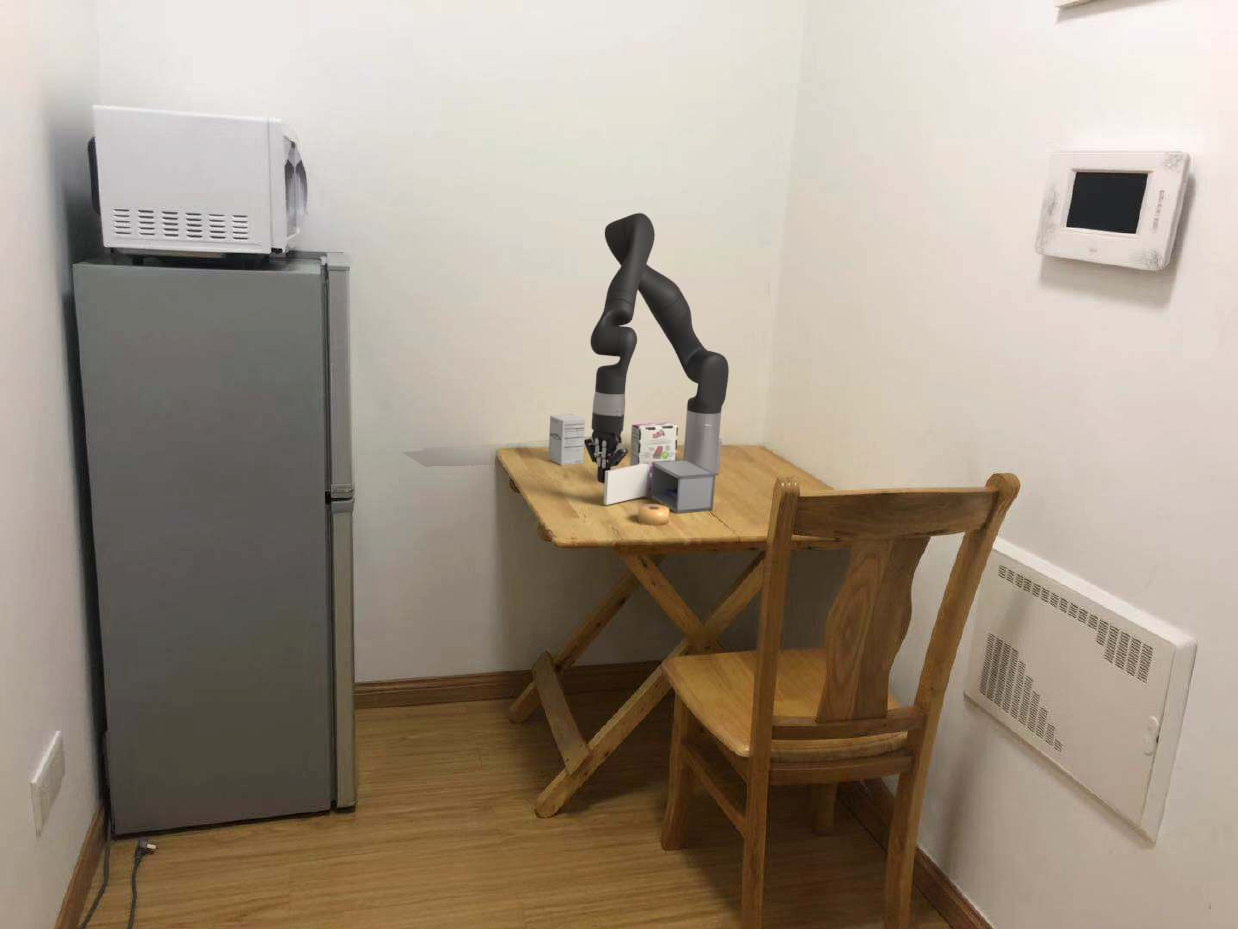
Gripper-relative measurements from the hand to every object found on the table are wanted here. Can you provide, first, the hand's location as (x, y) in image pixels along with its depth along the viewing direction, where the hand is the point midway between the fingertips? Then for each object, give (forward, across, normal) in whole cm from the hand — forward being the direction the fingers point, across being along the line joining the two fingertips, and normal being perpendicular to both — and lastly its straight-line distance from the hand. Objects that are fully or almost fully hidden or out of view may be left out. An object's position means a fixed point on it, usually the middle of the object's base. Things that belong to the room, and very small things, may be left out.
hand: (603, 482), depth 237 cm
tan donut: (+5, +18, -1) cm, 18 cm away
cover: (+5, +3, +5) cm, 8 cm away
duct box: (+4, +12, +15) cm, 20 cm away
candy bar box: (+5, -2, +20) cm, 20 cm away
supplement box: (+5, -34, +20) cm, 39 cm away
